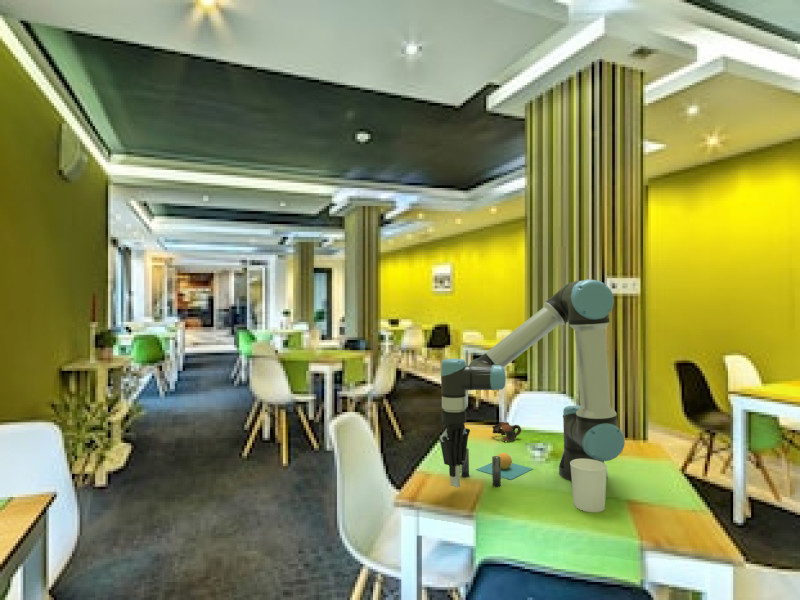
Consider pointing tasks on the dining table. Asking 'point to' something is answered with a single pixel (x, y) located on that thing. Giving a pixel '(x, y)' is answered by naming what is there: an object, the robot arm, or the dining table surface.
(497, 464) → the right post
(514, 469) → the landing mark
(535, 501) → the dining table surface
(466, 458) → the left post
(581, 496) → the candle holder
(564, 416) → the robot arm
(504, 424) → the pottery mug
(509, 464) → the ball
